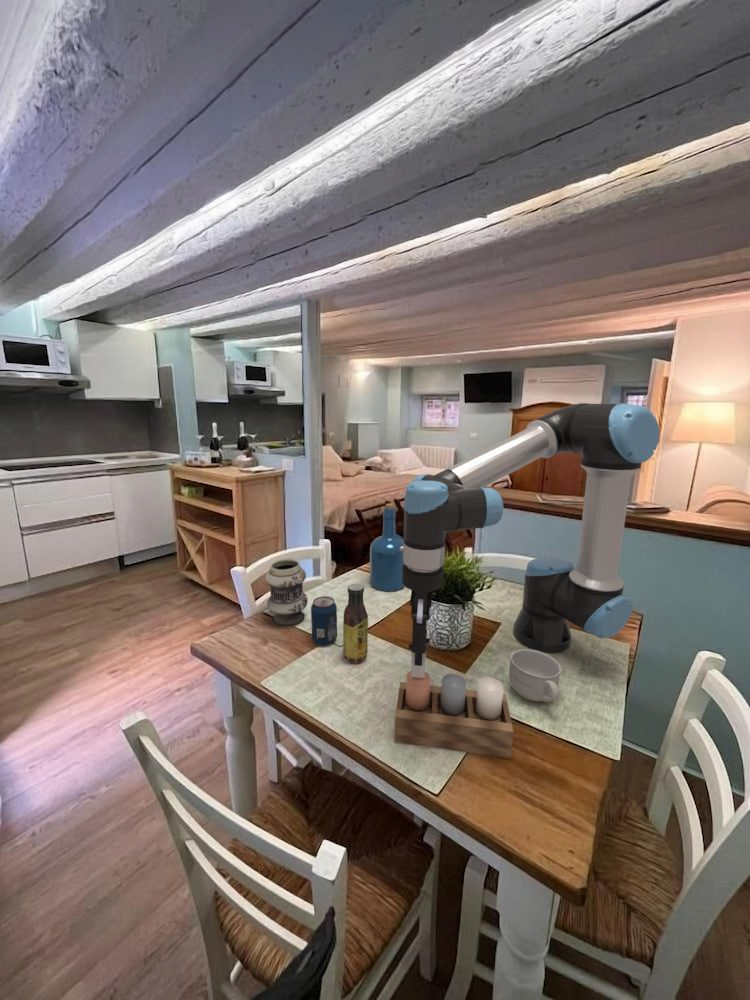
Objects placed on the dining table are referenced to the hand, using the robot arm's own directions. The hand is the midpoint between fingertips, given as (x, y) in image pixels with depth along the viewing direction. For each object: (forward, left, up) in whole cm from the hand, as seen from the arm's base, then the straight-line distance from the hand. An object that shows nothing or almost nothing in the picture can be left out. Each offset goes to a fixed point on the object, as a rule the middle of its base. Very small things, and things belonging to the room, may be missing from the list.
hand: (417, 674), depth 81 cm
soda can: (+27, -26, -12) cm, 39 cm away
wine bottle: (+14, -64, -12) cm, 67 cm away
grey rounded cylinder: (-7, 0, -7) cm, 10 cm away
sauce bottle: (+17, -20, -12) cm, 29 cm away
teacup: (-26, -13, -12) cm, 32 cm away
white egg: (-14, 0, -7) cm, 16 cm away
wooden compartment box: (-7, 0, -12) cm, 14 cm away
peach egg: (0, 0, -7) cm, 7 cm away
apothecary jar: (+41, -35, -12) cm, 55 cm away
